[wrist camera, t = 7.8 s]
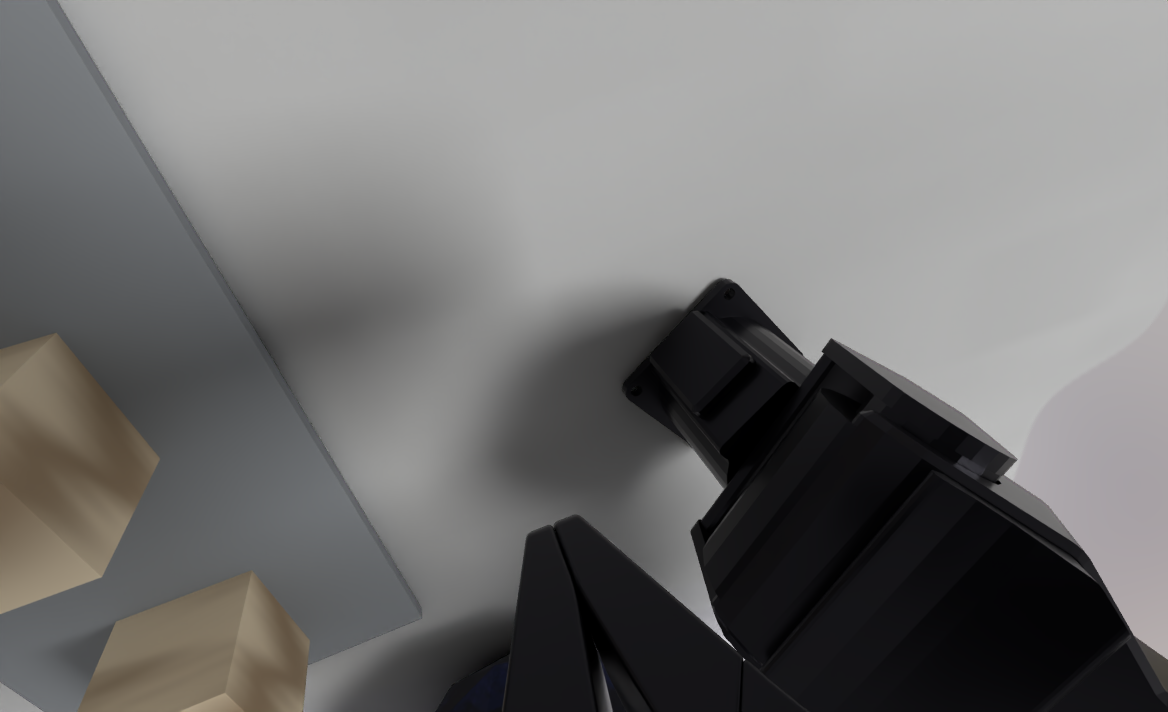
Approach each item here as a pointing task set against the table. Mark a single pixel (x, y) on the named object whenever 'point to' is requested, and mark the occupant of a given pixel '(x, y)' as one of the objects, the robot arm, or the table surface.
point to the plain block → (61, 472)
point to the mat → (160, 384)
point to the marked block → (204, 655)
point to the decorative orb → (496, 691)
